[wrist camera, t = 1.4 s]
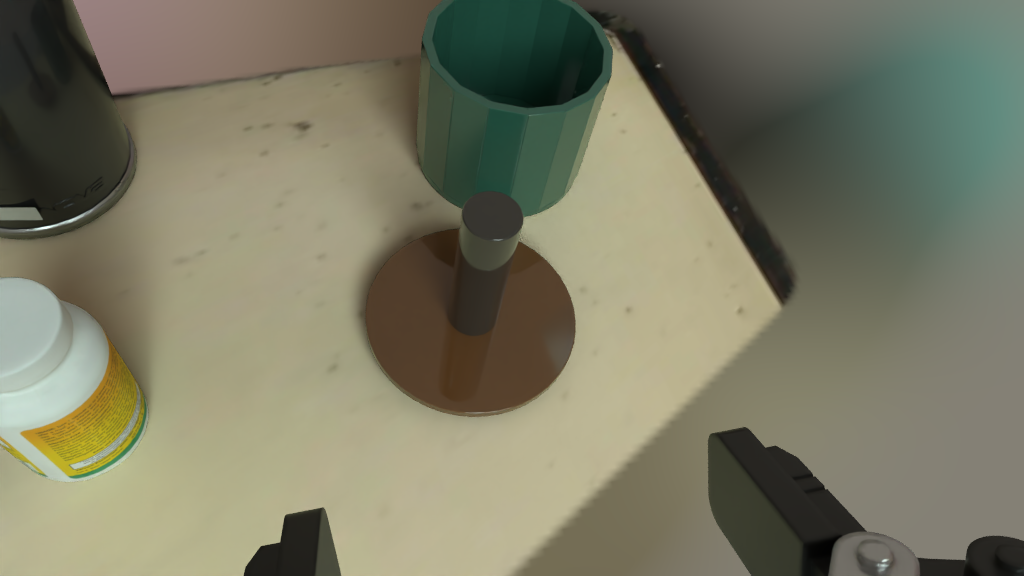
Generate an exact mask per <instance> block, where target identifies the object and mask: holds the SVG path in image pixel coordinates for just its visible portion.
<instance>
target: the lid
mask: <svg viewBox="0 0 1024 576" xmlns="http://www.w3.org/2000/svg"><path fill="white" fill-rule="evenodd" d="M523 219H524V218H523V213H522V210H521V208H520V206H519V205H518V203H517V202H516V201H515V200H514V199H512V198H511V197H509V196H508V195H506V194H503V193H500V192H496V191H484V192H480V193H477V194H475V195H473V196H472V197H470V198H469V199H468V200H467V201H466V203H465V204H464V206H463V209H462V215H461V222H460V228H459V229H452V230H445V231H440V232H435V233H432V234H429V235H426V236H423V237H421V238H419V239H417V240H415V241H412V242H411V243H409V244H408V245H406V246H404V247H403V248H401V249H400V250H399V251H398V252H396V253H395V254H394V255H393V256H392V257H391V258H390V259H389V260H388V261H387V262H386V263H385V264H384V265H383V267H382V268H381V270H380V271H379V272H378V274H377V276H376V278H375V279H374V281H373V283H372V285H371V288H370V291H369V294H368V298H367V304H366V315H365V324H366V332H367V338H368V342H369V345H370V349H371V351H372V353H373V355H374V358H375V360H376V362H377V363H378V365H379V366H380V368H381V370H382V371H383V373H384V374H385V375H386V376H387V377H388V378H389V380H390V381H391V382H392V383H393V384H394V385H395V386H396V387H397V388H399V389H400V390H401V391H402V392H403V393H405V394H406V395H407V396H409V397H410V398H412V399H413V400H415V401H417V402H419V403H421V404H423V405H425V406H427V407H429V408H432V409H435V410H437V411H440V412H444V413H448V414H452V415H458V416H468V417H481V416H491V415H498V414H502V413H506V412H509V411H513V410H515V409H517V408H520V407H522V406H524V405H526V404H528V403H530V402H531V401H533V400H535V399H536V398H538V397H539V396H540V395H541V394H543V393H544V392H545V391H546V390H548V389H549V387H550V386H551V385H552V384H553V383H554V382H555V381H556V380H557V378H558V377H559V375H560V374H561V372H562V371H563V369H564V367H565V365H566V363H567V361H568V359H569V357H570V354H571V351H572V348H573V345H574V338H575V314H574V308H573V304H572V301H571V297H570V295H569V293H568V291H567V288H566V286H565V284H564V283H563V281H562V279H561V278H560V276H559V275H558V274H557V272H556V271H555V270H554V269H553V267H552V266H551V265H550V264H549V263H548V262H547V261H546V260H545V259H544V258H543V257H542V256H540V255H539V254H538V253H536V252H535V251H534V250H533V249H531V248H529V247H528V246H526V245H524V244H523V243H521V242H519V241H518V240H519V237H520V233H521V229H522V225H523Z"/></svg>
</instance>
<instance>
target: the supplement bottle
mask: <svg viewBox="0 0 1024 576" xmlns="http://www.w3.org/2000/svg"><path fill="white" fill-rule="evenodd" d="M147 423H148V406H147V402H146V399H145V396H144V394H143V392H142V390H141V388H140V387H139V385H138V384H137V382H136V380H135V379H134V377H133V376H132V374H131V372H130V371H129V369H128V368H127V366H126V365H125V363H124V361H123V360H122V358H121V357H120V355H119V354H118V352H117V351H116V349H115V348H114V346H113V345H112V343H111V342H110V340H109V338H108V337H107V335H106V333H105V331H104V330H103V328H102V327H101V325H100V324H99V323H98V322H97V321H96V320H95V319H94V318H93V317H92V316H91V315H90V314H89V313H87V312H86V311H85V310H83V309H81V308H80V307H78V306H76V305H74V304H71V303H68V302H65V301H62V300H59V299H58V298H57V296H56V295H55V294H54V293H53V292H52V291H51V290H50V289H49V288H47V287H46V286H44V285H42V284H41V283H39V282H36V281H34V280H30V279H26V278H19V277H4V278H0V445H1V446H2V447H3V448H5V449H6V450H7V451H8V452H10V453H11V454H12V455H13V456H14V457H15V458H17V459H18V460H19V461H20V462H22V463H23V464H24V465H25V466H27V467H28V468H29V469H31V470H32V471H34V472H35V473H37V474H39V475H40V476H43V477H45V478H48V479H51V480H56V481H62V482H74V481H83V480H88V479H91V478H94V477H96V476H99V475H101V474H103V473H105V472H107V471H109V470H111V469H113V468H114V467H116V466H117V465H119V464H120V463H122V462H123V461H124V460H125V459H126V458H128V457H129V456H130V455H131V454H132V453H133V451H134V450H135V449H136V447H137V446H138V444H139V443H140V441H141V439H142V437H143V435H144V433H145V430H146V427H147Z"/></svg>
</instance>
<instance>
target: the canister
mask: <svg viewBox="0 0 1024 576" xmlns="http://www.w3.org/2000/svg"><path fill="white" fill-rule="evenodd" d="M612 56H613V50H612V47H611V45H610V43H609V41H608V39H607V37H606V35H605V33H604V31H603V29H602V26H601V25H600V24H599V23H598V22H597V21H596V20H595V19H594V18H593V17H592V16H591V15H590V14H588V13H587V12H586V11H585V10H584V9H583V8H582V7H581V6H580V5H579V4H577V3H575V2H573V1H571V0H442V1H441V2H440V3H439V4H438V5H437V6H436V7H435V8H434V9H433V10H432V11H431V12H430V13H429V15H428V18H427V21H426V25H425V29H424V33H423V37H422V49H421V67H420V85H419V103H418V121H417V139H416V146H417V150H418V159H419V164H420V166H421V169H422V172H423V173H424V175H425V177H426V179H427V180H428V182H429V183H430V184H431V186H432V187H433V188H434V189H435V190H436V191H437V192H438V193H439V194H440V195H441V196H443V197H444V198H445V199H446V200H448V201H449V202H451V203H453V204H454V205H456V206H458V207H460V208H462V209H463V206H464V204H465V203H466V201H467V200H468V199H469V198H470V197H472V196H473V195H475V194H477V193H480V192H484V191H496V192H500V193H503V194H506V195H508V196H509V197H511V198H512V199H514V200H515V201H516V202H517V203H518V205H519V206H520V208H521V210H522V213H523V217H526V216H531V215H534V214H537V213H540V212H542V211H544V210H546V209H548V208H550V207H552V206H553V205H555V204H556V203H557V202H559V201H560V200H561V199H562V198H563V197H564V196H565V195H566V193H567V192H568V191H569V189H570V188H571V186H572V184H573V182H574V179H575V178H576V177H577V175H578V172H579V169H580V166H581V163H582V160H583V157H584V154H585V151H586V148H587V145H588V142H589V139H590V137H591V134H592V131H593V128H594V125H595V122H596V119H597V116H598V113H599V110H600V107H601V104H602V101H603V98H604V95H605V92H606V89H607V86H608V83H609V80H610V77H611V73H612Z"/></svg>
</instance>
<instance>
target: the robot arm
mask: <svg viewBox="0 0 1024 576" xmlns="http://www.w3.org/2000/svg"><path fill="white" fill-rule="evenodd" d="M136 162H137V156H136V149H135V146H134V143H133V141H132V138H131V136H130V133H129V131H128V129H127V128H126V126H125V124H124V123H123V122H122V119H121V117H120V114H119V112H118V109H117V107H116V105H115V102H114V100H113V97H112V94H111V92H110V89H109V87H108V84H107V82H106V80H105V77H104V75H103V72H102V70H101V68H100V65H99V63H98V60H97V58H96V55H95V53H94V51H93V48H92V46H91V43H90V41H89V39H88V37H87V34H86V31H85V29H84V27H83V24H82V22H81V19H80V17H79V14H78V12H77V10H76V7H75V5H74V3H73V0H0V237H1V238H8V239H35V238H43V237H49V236H54V235H58V234H62V233H65V232H68V231H71V230H74V229H76V228H79V227H81V226H83V225H85V224H87V223H89V222H91V221H93V220H94V219H96V218H98V217H99V216H101V215H102V214H104V213H105V212H106V211H107V210H109V209H110V208H111V207H112V206H113V205H114V204H115V203H116V202H117V201H118V200H119V199H120V198H121V197H122V196H123V194H124V193H125V192H126V190H127V189H128V187H129V185H130V183H131V181H132V179H133V177H134V173H135V170H136ZM708 484H709V488H708V489H709V501H710V506H711V510H712V513H713V516H714V518H715V520H716V522H717V524H718V526H719V527H720V529H721V530H722V532H723V533H724V535H725V536H726V538H727V539H728V541H729V542H730V544H731V545H732V547H733V548H734V550H735V551H736V553H737V554H738V556H739V557H740V559H741V560H742V562H743V564H744V565H745V567H746V568H747V570H748V571H749V573H750V574H751V576H1024V541H1022V540H1019V539H1015V538H1010V537H1004V536H988V537H987V536H986V537H982V538H979V539H976V540H975V541H973V542H972V543H971V544H970V545H969V546H968V549H967V554H966V560H945V559H924V558H917V557H916V556H915V554H914V553H913V552H912V551H911V550H910V549H909V548H908V547H907V546H906V545H904V544H903V543H901V542H900V541H898V540H896V539H893V538H891V537H888V536H886V535H883V534H879V533H874V532H867V531H866V530H865V529H864V528H863V527H862V526H861V525H860V524H859V523H858V522H857V520H856V519H855V518H854V517H852V515H851V514H850V513H849V512H848V511H847V510H846V509H845V508H844V507H843V506H842V504H840V502H839V501H838V500H837V499H836V498H835V497H834V496H833V495H832V494H831V493H830V492H829V491H828V489H827V490H825V488H824V485H823V484H822V483H821V482H820V481H819V480H818V479H817V478H816V477H813V474H812V473H811V471H810V470H809V469H808V468H807V467H806V466H805V465H804V464H803V463H802V462H801V461H800V460H799V459H798V458H797V457H796V456H794V455H792V454H790V453H788V452H786V451H784V450H783V449H781V448H779V447H777V446H772V447H767V448H765V447H764V446H763V445H762V443H761V442H760V441H759V440H758V439H757V438H756V437H755V435H754V434H753V433H752V432H751V431H750V430H749V429H748V428H746V427H743V428H738V429H732V430H728V431H722V432H717V433H712V434H710V436H709V440H708ZM244 576H341V573H340V568H339V563H338V559H337V555H336V551H335V547H334V543H333V538H332V534H331V530H330V526H329V522H328V518H327V514H326V511H325V509H324V508H318V509H313V510H308V511H303V512H297V513H292V514H287V515H286V516H285V518H284V523H283V529H282V535H281V542H280V543H275V544H270V545H265V546H261V547H260V548H259V549H258V551H257V552H256V554H255V555H254V556H253V558H252V559H251V560H250V562H249V563H248V565H247V566H246V568H245V572H244Z"/></svg>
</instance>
